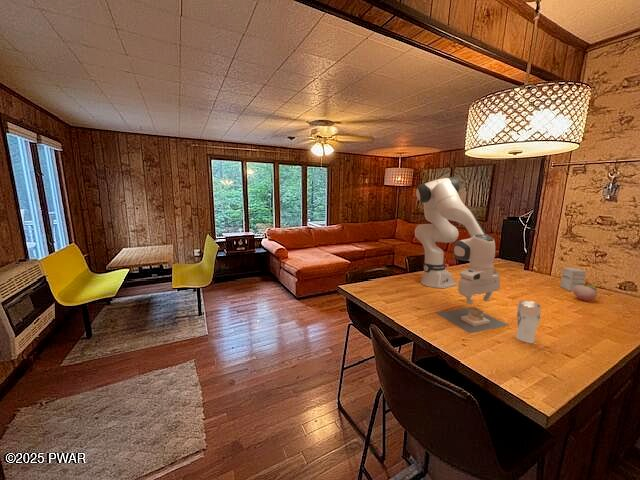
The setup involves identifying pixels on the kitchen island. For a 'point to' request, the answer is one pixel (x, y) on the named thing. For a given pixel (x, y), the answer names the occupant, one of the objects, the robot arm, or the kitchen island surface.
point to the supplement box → (572, 278)
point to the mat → (455, 318)
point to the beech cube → (475, 314)
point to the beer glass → (527, 321)
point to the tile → (475, 323)
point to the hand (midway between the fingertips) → (478, 302)
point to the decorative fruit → (585, 291)
